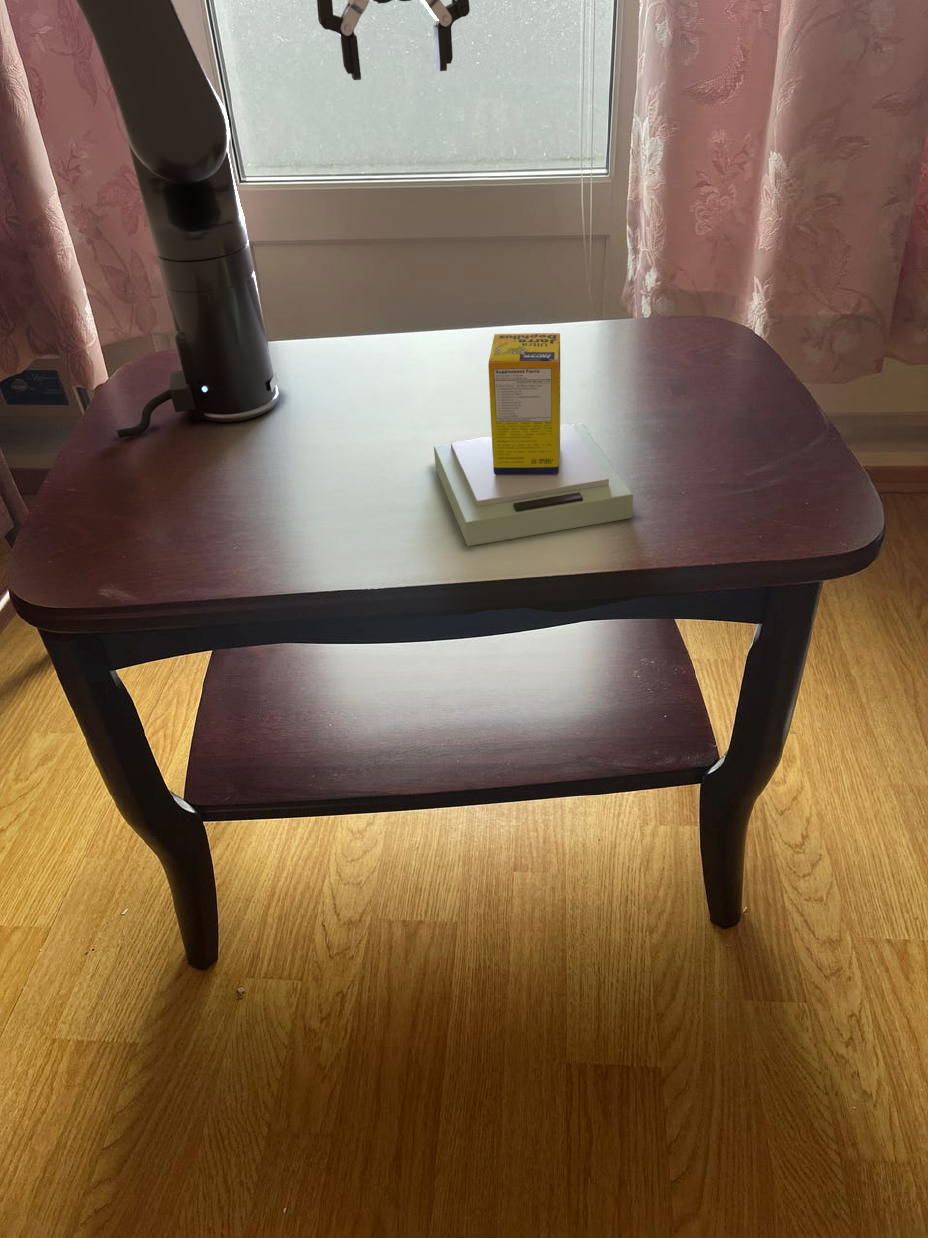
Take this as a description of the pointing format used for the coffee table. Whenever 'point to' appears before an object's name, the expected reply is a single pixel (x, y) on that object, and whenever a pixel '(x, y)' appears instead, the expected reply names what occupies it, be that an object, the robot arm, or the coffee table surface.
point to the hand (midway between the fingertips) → (399, 74)
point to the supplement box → (525, 403)
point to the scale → (531, 490)
